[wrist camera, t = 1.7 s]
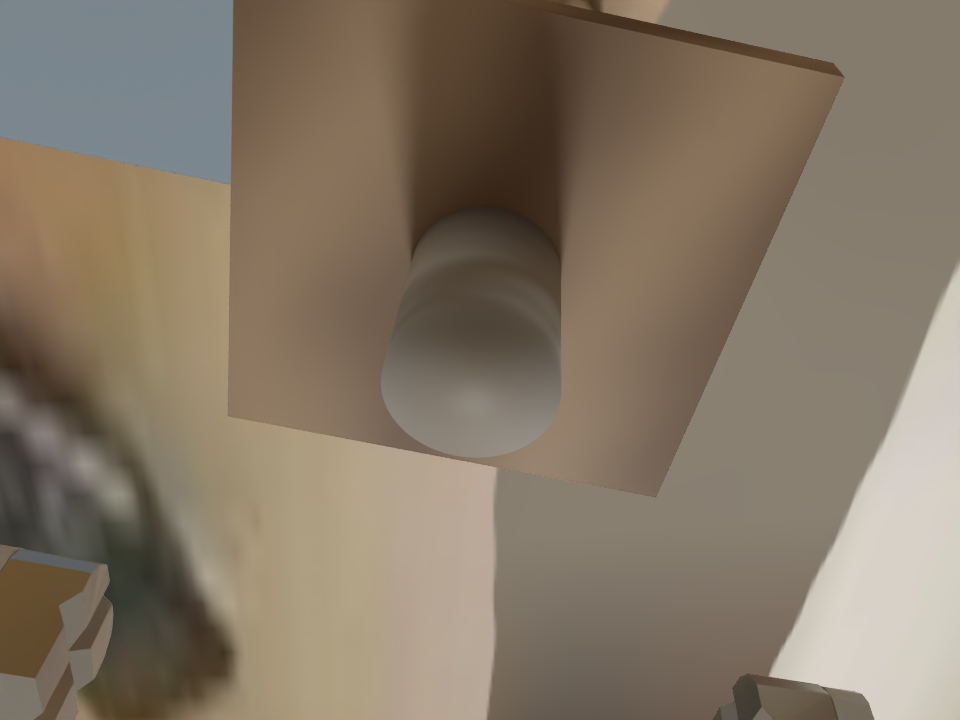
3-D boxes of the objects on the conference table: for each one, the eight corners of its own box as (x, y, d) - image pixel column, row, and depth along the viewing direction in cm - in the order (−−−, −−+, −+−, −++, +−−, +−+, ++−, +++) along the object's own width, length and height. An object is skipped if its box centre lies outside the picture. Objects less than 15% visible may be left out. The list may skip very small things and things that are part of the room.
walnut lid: (833, 63, 16) (919, 171, 12) (653, 475, 23) (672, 630, 19) (247, -66, 15) (144, 5, 12) (237, 395, 22) (169, 538, 18)
